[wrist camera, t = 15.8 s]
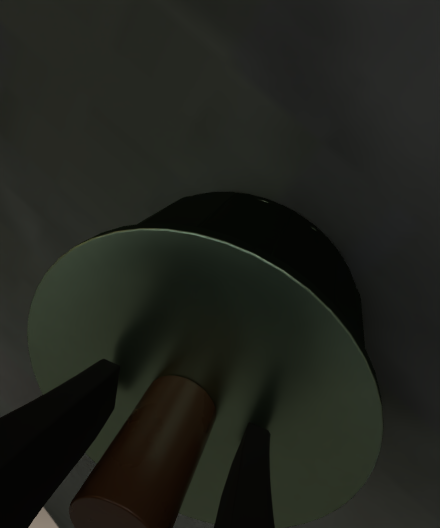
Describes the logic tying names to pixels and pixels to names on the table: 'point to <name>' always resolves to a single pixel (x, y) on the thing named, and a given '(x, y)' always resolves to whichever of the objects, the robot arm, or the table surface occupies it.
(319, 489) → the lid
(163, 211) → the bowl
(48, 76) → the table surface
